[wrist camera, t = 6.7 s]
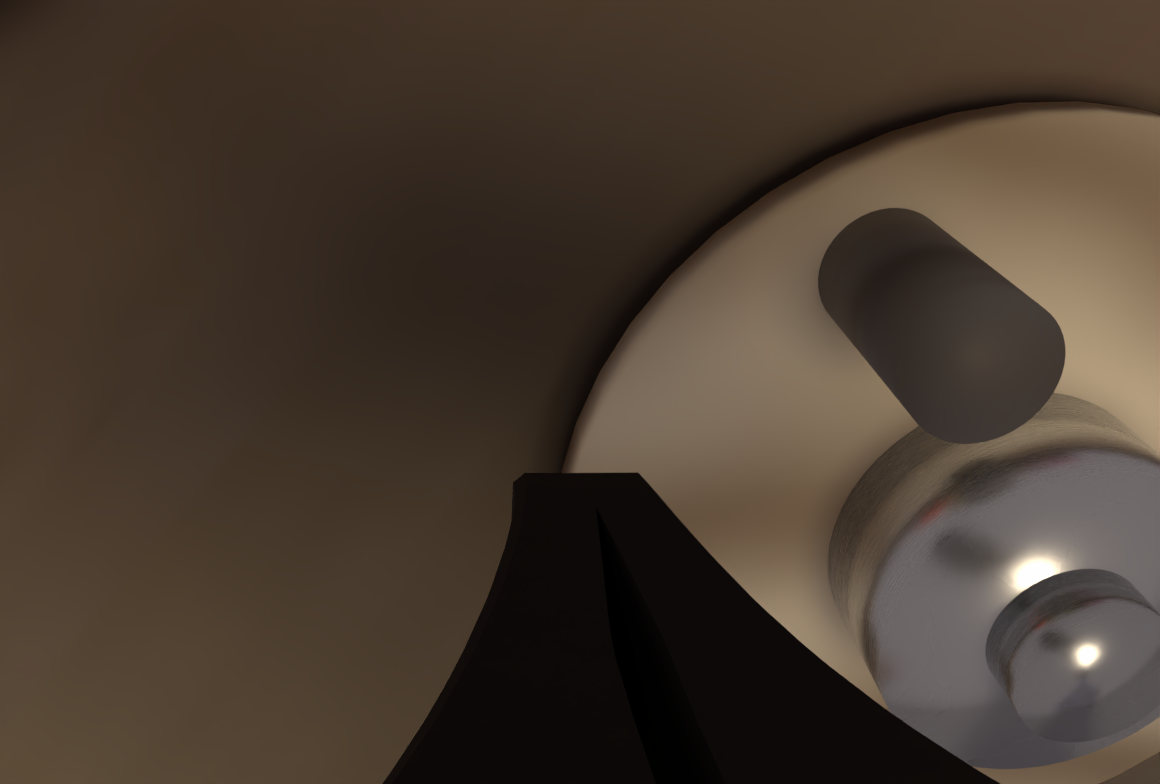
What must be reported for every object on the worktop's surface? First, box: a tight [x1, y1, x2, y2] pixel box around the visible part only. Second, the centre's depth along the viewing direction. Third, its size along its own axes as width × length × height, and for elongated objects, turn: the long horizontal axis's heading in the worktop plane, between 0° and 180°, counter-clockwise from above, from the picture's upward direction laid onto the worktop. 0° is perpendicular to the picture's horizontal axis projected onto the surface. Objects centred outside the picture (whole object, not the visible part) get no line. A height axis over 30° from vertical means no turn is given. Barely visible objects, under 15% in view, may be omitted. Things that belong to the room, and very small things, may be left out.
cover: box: [827, 393, 1160, 769], centre depth 20 cm, size 7×7×4 cm
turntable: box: [561, 101, 1160, 784], centre depth 20 cm, size 18×18×5 cm
